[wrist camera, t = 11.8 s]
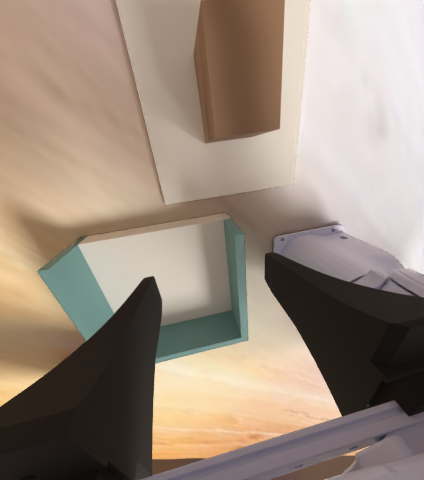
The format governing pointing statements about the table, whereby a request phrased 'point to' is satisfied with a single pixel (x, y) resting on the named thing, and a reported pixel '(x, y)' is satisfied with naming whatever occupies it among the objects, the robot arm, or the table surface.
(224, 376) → the table surface
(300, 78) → the mat
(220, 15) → the walnut block
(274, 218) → the table surface
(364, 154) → the table surface
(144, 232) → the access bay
